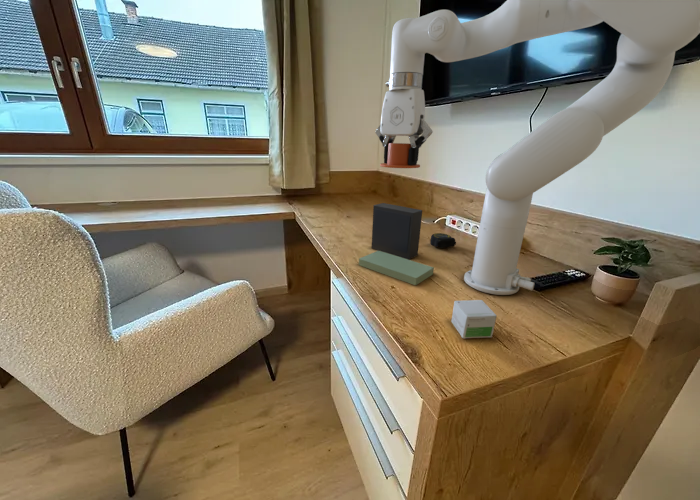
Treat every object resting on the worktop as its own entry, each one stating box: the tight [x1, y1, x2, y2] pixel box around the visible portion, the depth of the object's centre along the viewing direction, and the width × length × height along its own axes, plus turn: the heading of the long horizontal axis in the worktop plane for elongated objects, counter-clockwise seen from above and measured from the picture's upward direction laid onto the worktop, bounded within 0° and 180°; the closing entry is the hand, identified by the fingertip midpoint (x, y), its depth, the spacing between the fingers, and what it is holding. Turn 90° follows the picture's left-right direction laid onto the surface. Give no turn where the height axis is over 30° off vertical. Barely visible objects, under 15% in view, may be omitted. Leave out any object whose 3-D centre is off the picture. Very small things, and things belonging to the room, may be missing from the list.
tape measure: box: [429, 232, 457, 249], centre depth 102 cm, size 7×7×4 cm
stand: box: [358, 250, 435, 286], centre depth 83 cm, size 18×9×2 cm, turn 49°
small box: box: [450, 299, 497, 340], centre depth 57 cm, size 6×6×5 cm
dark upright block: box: [370, 202, 423, 260], centre depth 94 cm, size 14×5×14 cm, turn 49°
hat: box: [379, 142, 421, 169], centre depth 77 cm, size 10×10×6 cm
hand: (400, 163), depth 78 cm, fingers closed on hat, 6 cm apart
